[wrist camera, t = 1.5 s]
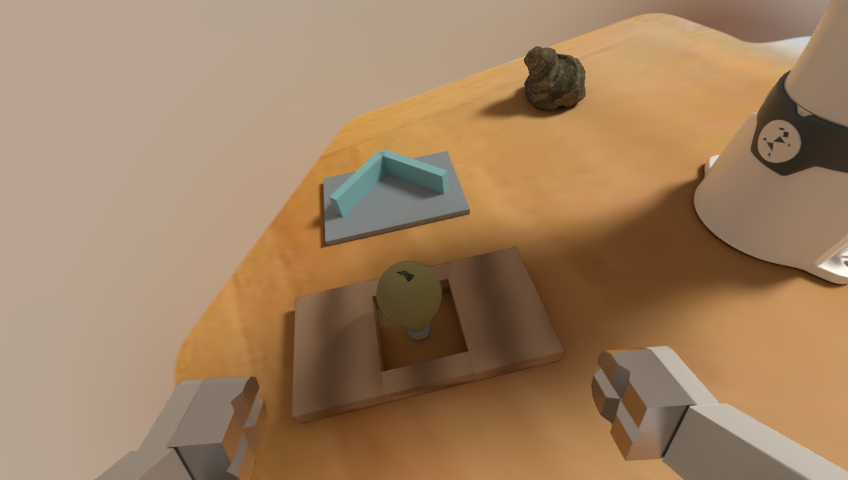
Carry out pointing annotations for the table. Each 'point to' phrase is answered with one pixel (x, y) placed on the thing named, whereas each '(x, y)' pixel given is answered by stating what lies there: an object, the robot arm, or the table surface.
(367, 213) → the V-block
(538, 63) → the seashell
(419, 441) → the table surface
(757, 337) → the table surface
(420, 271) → the light bulb
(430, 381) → the wooden board with hole
